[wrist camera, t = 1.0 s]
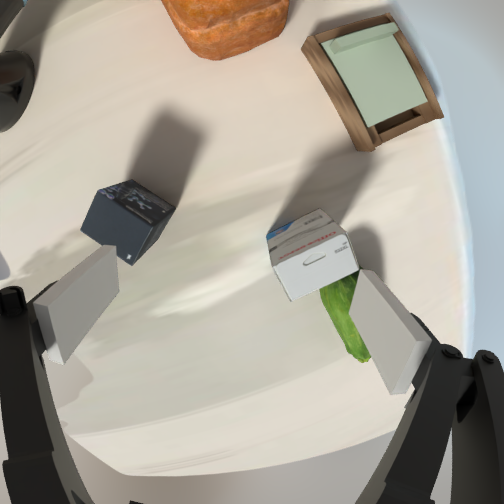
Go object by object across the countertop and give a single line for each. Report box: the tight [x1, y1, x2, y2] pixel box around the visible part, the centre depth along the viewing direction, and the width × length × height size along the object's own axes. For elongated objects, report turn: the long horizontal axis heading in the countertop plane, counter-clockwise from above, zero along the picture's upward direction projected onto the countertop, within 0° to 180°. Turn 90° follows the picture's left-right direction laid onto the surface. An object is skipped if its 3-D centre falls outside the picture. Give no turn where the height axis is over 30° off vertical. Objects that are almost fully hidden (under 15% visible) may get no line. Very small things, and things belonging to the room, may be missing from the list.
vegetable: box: [320, 265, 371, 363], centre depth 42 cm, size 7×7×20 cm
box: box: [80, 180, 176, 266], centre depth 35 cm, size 8×6×11 cm
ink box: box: [266, 209, 359, 302], centre depth 36 cm, size 8×5×12 cm, turn 117°
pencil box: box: [301, 13, 444, 152], centre depth 31 cm, size 16×13×5 cm
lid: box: [320, 22, 428, 128], centre depth 28 cm, size 12×10×4 cm
